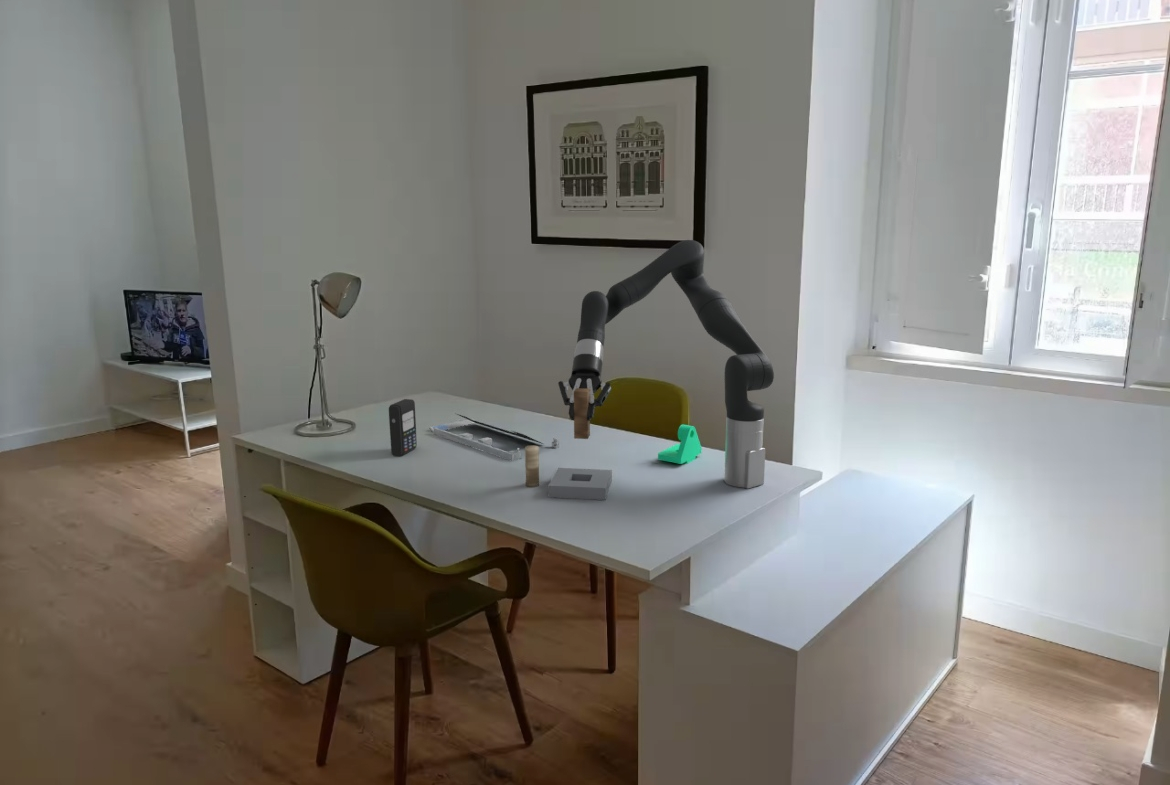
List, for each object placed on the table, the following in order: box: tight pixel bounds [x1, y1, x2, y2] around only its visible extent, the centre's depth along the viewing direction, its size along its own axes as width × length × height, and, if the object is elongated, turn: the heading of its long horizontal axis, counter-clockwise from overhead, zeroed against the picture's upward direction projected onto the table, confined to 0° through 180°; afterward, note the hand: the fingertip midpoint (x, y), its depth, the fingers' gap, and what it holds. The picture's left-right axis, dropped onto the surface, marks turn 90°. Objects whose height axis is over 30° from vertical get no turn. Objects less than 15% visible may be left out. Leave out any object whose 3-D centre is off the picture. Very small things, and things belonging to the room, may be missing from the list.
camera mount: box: [657, 424, 702, 465], centre depth 231 cm, size 12×8×10 cm, turn 145°
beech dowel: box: [524, 444, 540, 488], centre depth 211 cm, size 3×3×10 cm
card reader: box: [388, 398, 418, 457], centre depth 238 cm, size 9×4×15 cm, turn 161°
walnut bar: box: [573, 388, 591, 440], centre depth 206 cm, size 3×3×12 cm
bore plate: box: [547, 467, 613, 501], centre depth 208 cm, size 14×14×3 cm
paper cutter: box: [428, 413, 560, 462], centre depth 252 cm, size 18×45×6 cm, turn 44°
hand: (580, 418), depth 204 cm, fingers closed on walnut bar, 3 cm apart
